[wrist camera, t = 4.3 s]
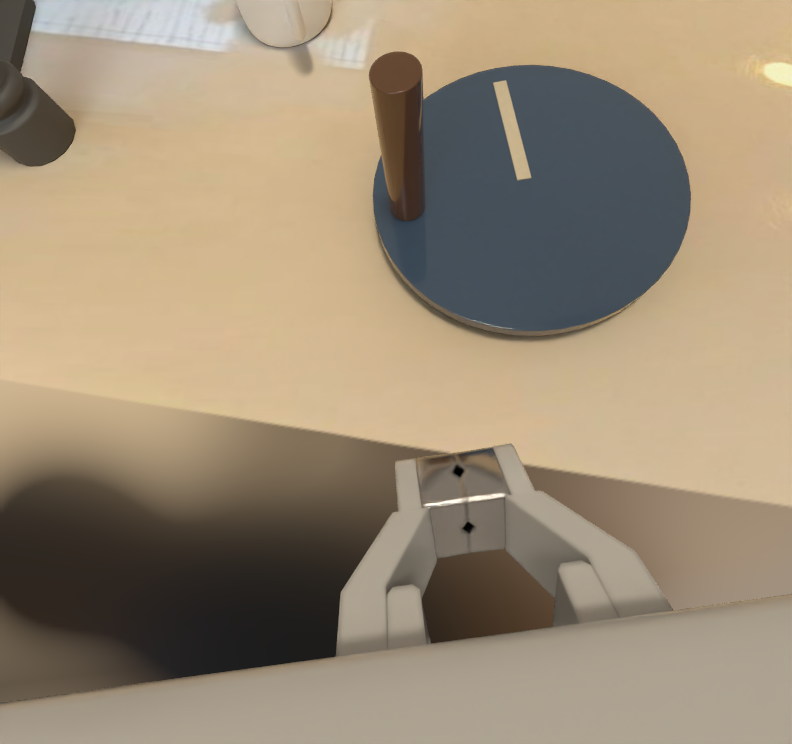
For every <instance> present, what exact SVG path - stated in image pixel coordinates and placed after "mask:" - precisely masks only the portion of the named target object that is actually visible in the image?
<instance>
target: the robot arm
mask: <svg viewBox="0 0 792 744" xmlns="http://www.w3.org/2000/svg"><path fill="white" fill-rule="evenodd" d="M395 472H396V485H397V500H398V512H393V513H392V514H391V516H390V517H389V519H388V520H387V522H386V523H385V525H384V527H383V528H382V529H381V531H380V532H379V534H378V536H377V537H376V539H375V540H374V542H373V543H372V545H371V546H370V548H369V549H368V551H367V553H366V554H365V556H364V557H363V559H362V560H361V562H360V563H359V565H358V566H357V568H356V570H355V571H354V573H353V574H352V576H351V577H350V579H349V580H348V582H347V583H346V585H345V587H344V588H343V590H342V591H341V596H340V609H339V622H338V636H337V650H336V657H332V658H325V659H317V660H310V661H302V662H295V663H288V664H280V665H273V666H266V667H258V668H251V669H244V670H236V671H229V672H222V673H215V674H208V675H200V676H193V677H186V678H178V679H171V680H163V681H156V682H149V683H141V684H134V685H127V686H119V687H112V688H105V689H98V690H91V691H84V692H76V693H68V694H61V695H53V696H46V697H39V698H31V699H24V700H17V701H10V702H2V703H0V744H792V594H789V595H782V596H774V597H767V598H761V599H753V600H745V601H739V602H731V603H724V604H717V605H710V606H702V607H695V608H687V609H680V610H673V609H672V607H671V605H670V604H669V602H668V601H667V599H666V598H665V596H664V595H663V593H662V592H661V590H660V588H659V587H658V585H657V584H656V582H655V581H654V579H653V578H652V576H651V575H650V573H649V572H648V570H647V568H646V567H645V565H644V564H643V562H642V560H641V559H640V557H639V556H638V554H637V553H636V551H634V550H633V549H631V548H630V547H628V546H626V545H625V544H623V543H622V542H620V541H619V540H617V539H616V538H614V537H613V536H611V535H610V534H608V533H606V532H605V531H603V530H602V529H600V528H598V527H597V526H596V525H594V524H593V523H591V522H589V521H588V520H586V519H585V518H583V517H582V516H580V515H578V514H577V513H576V512H574V511H572V510H571V509H569V508H568V507H566V506H565V505H563V504H562V503H560V502H558V501H557V500H555V499H554V498H552V497H551V496H549V495H548V494H546V493H545V492H543V491H535V490H534V488H533V485H532V483H531V481H530V479H529V477H528V475H527V473H526V471H525V469H524V466H523V464H522V462H521V460H520V458H519V456H518V454H517V452H516V450H515V448H514V446H513V445H512V444H505V445H499V446H493V447H489V448H482V449H476V450H470V451H464V452H457V453H452V454H444V455H437V456H429V457H420V458H416V462H415V459H408V460H400V461H396V463H395ZM498 549H506V551H507V552H508V553H509V554H511V556H512V557H513V558H514V559H515V560H516V561H517V562H518V563H519V564H520V565H521V566H522V567H523V568H524V569H525V570H526V571H527V572H528V573H529V574H530V575H531V576H533V578H535V580H536V581H538V582H539V583H540V585H541V586H543V587H544V588H545V589H546V590H547V591H548V592H549V593H550V594H551V595H552V596H553V597H554V598H555V605H554V615H553V626H552V627H549V628H542V629H535V630H528V631H520V632H513V633H506V634H499V635H491V636H484V637H477V638H470V639H462V640H455V641H448V642H441V643H433V644H431V642H430V637H429V632H428V627H427V622H426V617H425V612H424V607H423V603H422V597H423V594H424V591H425V589H426V587H427V584H428V582H429V579H430V577H431V574H432V572H433V569H434V567H435V564H436V562H437V558H442V557H448V556H454V555H460V554H466V553H472V552H481V551H489V550H498Z"/></svg>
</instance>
